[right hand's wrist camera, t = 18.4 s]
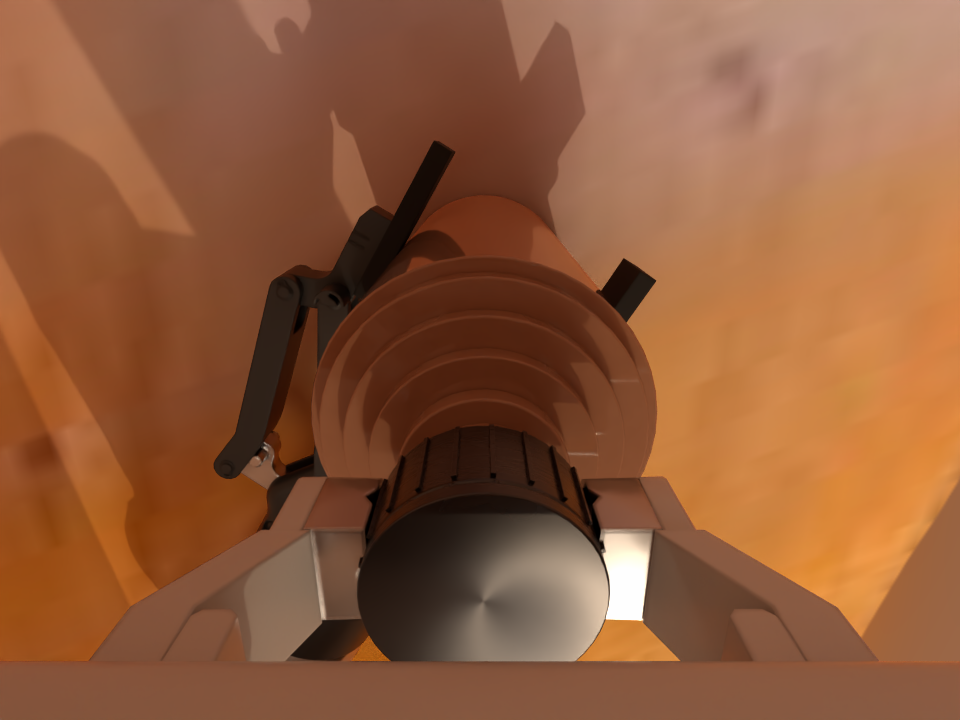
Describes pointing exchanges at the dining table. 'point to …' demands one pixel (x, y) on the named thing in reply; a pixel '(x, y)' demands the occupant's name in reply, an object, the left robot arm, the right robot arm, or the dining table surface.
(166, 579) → the dining table surface
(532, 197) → the dining table surface
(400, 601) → the cap
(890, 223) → the dining table surface
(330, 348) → the bottle
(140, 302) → the dining table surface
